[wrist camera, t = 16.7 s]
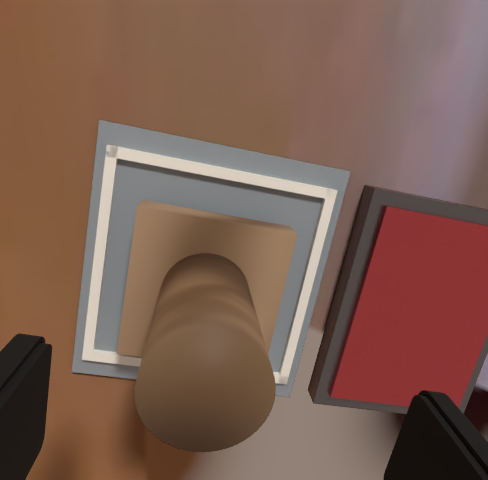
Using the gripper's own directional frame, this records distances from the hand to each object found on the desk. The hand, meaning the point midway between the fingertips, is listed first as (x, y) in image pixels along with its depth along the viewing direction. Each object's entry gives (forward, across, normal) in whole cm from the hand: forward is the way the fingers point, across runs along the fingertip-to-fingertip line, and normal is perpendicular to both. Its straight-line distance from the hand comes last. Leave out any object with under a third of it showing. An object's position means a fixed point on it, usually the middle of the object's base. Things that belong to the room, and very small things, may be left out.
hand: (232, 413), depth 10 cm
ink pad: (+11, -11, +1) cm, 15 cm away
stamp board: (+11, +1, +1) cm, 11 cm away
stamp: (+11, +1, +1) cm, 11 cm away
